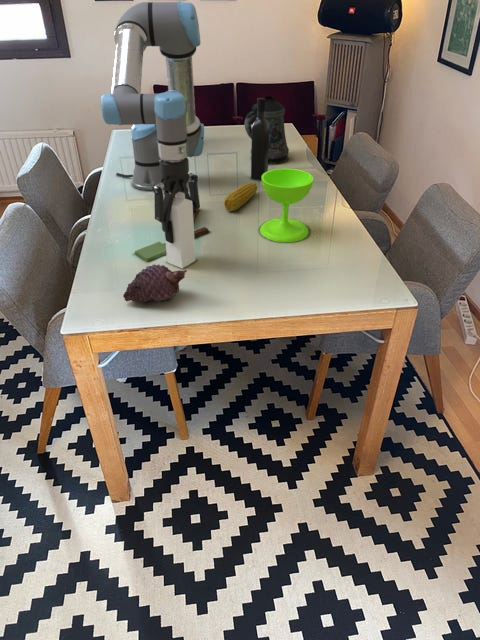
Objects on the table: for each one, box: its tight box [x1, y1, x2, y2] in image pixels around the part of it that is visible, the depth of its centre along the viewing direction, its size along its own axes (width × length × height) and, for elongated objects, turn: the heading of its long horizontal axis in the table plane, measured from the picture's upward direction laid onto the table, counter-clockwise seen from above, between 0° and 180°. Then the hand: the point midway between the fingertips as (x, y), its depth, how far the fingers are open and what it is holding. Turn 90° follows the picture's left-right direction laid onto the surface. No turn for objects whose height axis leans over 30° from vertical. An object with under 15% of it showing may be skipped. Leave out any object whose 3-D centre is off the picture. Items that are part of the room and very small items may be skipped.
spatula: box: [134, 226, 209, 263], centre depth 161 cm, size 26×6×1 cm, turn 133°
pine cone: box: [123, 263, 187, 303], centre depth 134 cm, size 18×10×10 cm
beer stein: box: [244, 96, 290, 165], centre depth 216 cm, size 16×19×25 cm
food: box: [223, 182, 258, 212], centre depth 185 cm, size 21×6×6 cm, turn 155°
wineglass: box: [259, 167, 314, 243], centre depth 163 cm, size 16×16×18 cm
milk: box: [164, 192, 196, 269], centre depth 146 cm, size 6×6×22 cm
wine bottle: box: [250, 97, 269, 181], centre depth 197 cm, size 6×6×30 cm
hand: (179, 237), depth 147 cm, fingers closed on milk, 7 cm apart
